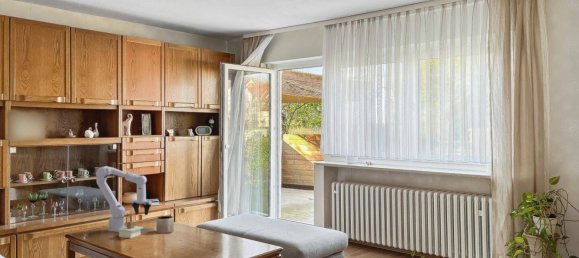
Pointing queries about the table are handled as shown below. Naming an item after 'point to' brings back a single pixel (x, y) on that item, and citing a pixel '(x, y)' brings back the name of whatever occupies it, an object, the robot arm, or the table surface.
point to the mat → (145, 230)
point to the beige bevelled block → (129, 234)
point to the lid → (130, 227)
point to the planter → (164, 224)
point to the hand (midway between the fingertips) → (141, 214)
